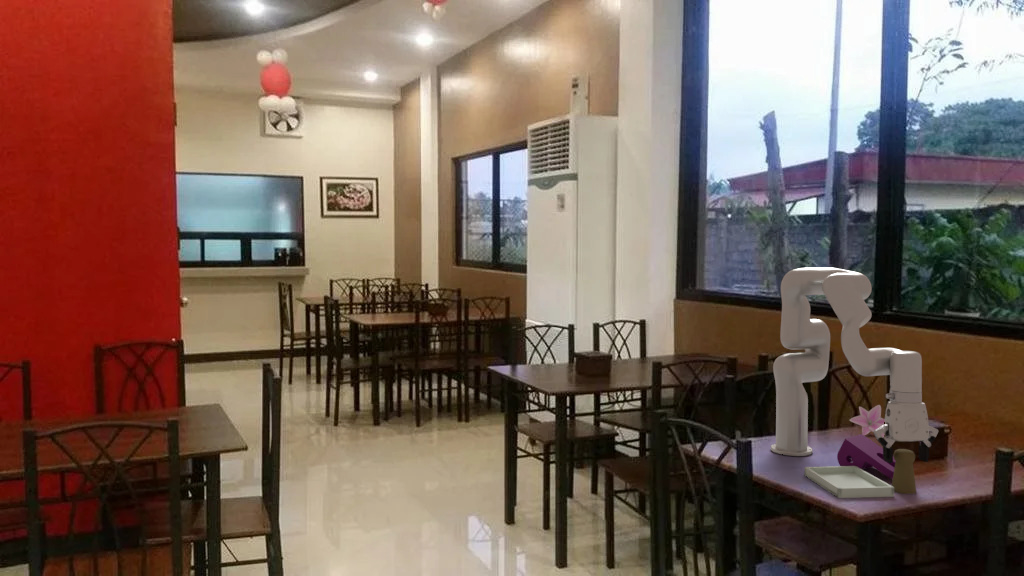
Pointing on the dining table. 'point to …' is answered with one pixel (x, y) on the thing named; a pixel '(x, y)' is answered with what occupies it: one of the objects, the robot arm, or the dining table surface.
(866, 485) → the tray
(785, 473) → the dining table surface
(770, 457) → the dining table surface
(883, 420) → the lily
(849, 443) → the mounting bracket
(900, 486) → the cork
